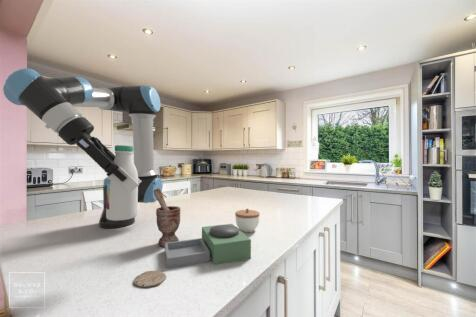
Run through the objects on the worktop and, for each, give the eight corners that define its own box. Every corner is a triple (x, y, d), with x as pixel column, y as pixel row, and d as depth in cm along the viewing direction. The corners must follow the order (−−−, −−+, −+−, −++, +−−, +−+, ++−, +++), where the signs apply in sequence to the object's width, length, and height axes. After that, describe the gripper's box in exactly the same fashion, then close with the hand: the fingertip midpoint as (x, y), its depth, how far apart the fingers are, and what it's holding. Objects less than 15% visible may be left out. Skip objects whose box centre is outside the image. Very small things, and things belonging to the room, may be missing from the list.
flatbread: (127, 283, 57) (127, 279, 57) (151, 270, 64) (151, 266, 64) (149, 292, 53) (149, 288, 53) (172, 277, 60) (172, 274, 60)
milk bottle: (142, 214, 65) (144, 146, 65) (126, 222, 58) (128, 145, 58) (118, 213, 66) (120, 146, 66) (99, 220, 59) (101, 144, 59)
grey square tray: (164, 250, 76) (164, 242, 76) (201, 245, 81) (201, 238, 81) (167, 268, 65) (167, 258, 65) (209, 261, 69) (209, 252, 69)
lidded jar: (252, 235, 92) (252, 212, 92) (230, 231, 97) (230, 209, 97) (263, 228, 101) (263, 208, 101) (243, 224, 106) (243, 205, 106)
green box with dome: (201, 242, 84) (201, 223, 84) (232, 238, 88) (232, 220, 88) (214, 264, 67) (214, 240, 67) (250, 258, 71) (250, 235, 71)
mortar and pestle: (143, 246, 81) (143, 190, 80) (157, 237, 89) (157, 187, 89) (173, 248, 78) (173, 191, 78) (184, 239, 87) (184, 188, 87)
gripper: (72, 137, 67) (130, 190, 72) (36, 130, 47) (119, 203, 53) (93, 121, 68) (148, 174, 74) (67, 108, 49) (144, 181, 55)
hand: (136, 186), depth 63 cm, fingers closed on milk bottle, 7 cm apart
